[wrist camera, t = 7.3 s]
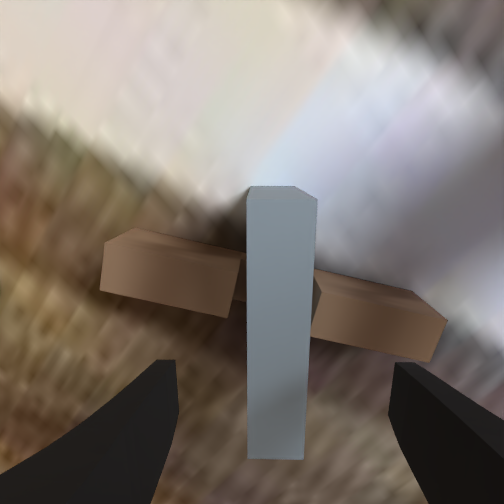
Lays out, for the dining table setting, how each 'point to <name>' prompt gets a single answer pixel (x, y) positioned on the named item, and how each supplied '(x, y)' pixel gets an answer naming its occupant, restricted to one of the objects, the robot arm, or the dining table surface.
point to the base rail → (235, 287)
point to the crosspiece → (278, 318)
